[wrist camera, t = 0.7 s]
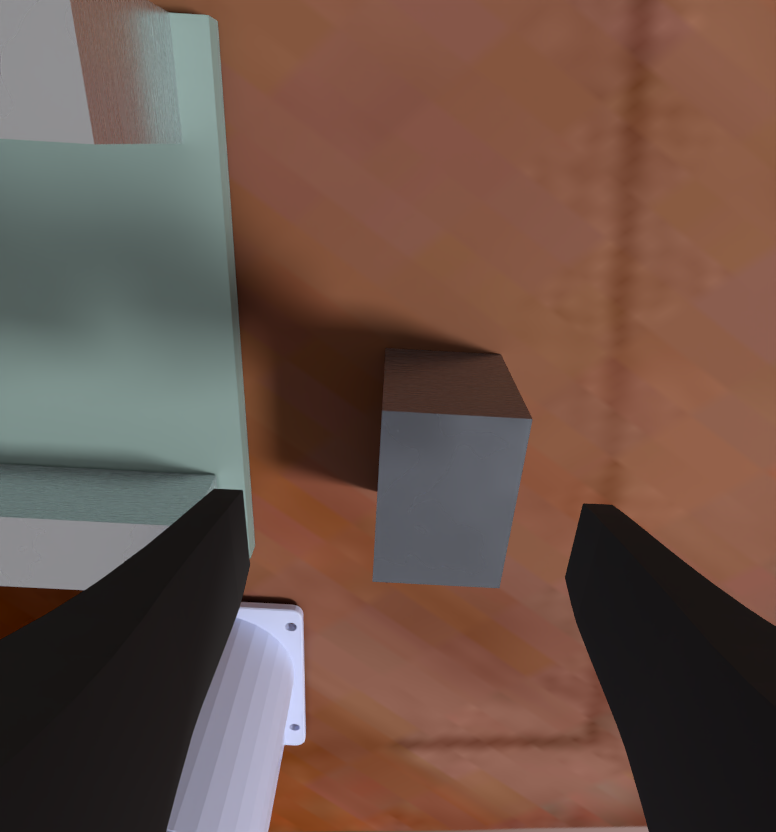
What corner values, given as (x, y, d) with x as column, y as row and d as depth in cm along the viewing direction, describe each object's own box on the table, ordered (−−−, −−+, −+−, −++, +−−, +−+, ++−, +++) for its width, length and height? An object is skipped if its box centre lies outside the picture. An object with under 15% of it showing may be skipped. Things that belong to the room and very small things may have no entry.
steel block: (478, 495, 22) (499, 588, 17) (377, 490, 22) (372, 581, 17) (500, 353, 19) (532, 419, 14) (385, 347, 19) (381, 410, 14)
